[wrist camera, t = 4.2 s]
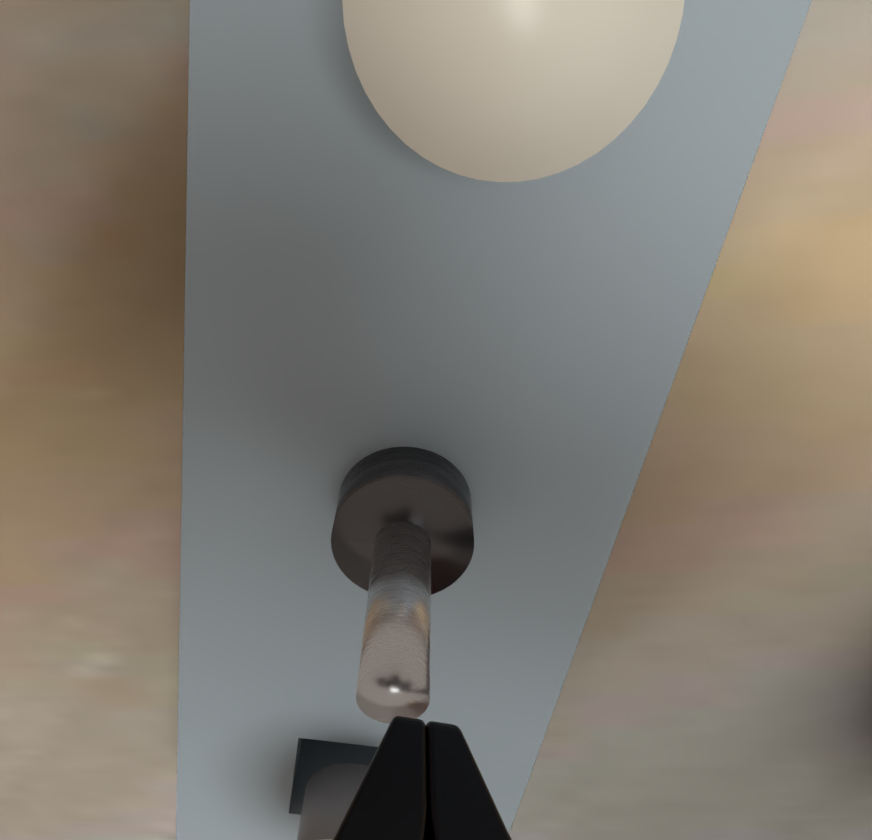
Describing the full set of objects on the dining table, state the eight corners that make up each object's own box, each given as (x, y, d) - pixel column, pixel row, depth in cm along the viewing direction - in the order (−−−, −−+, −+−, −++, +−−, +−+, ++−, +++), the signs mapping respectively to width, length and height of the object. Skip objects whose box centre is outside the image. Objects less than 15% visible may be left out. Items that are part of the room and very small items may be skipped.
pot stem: (483, 457, 16) (503, 643, 12) (457, 563, 18) (465, 768, 13) (347, 437, 16) (309, 617, 11) (332, 545, 18) (292, 748, 13)
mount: (804, -241, 14) (931, -329, 10) (479, 786, 28) (485, 897, 24) (262, -371, 13) (197, -515, 9) (209, 755, 27) (175, 866, 24)
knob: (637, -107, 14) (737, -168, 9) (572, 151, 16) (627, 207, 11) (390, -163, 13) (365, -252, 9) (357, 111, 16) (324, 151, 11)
